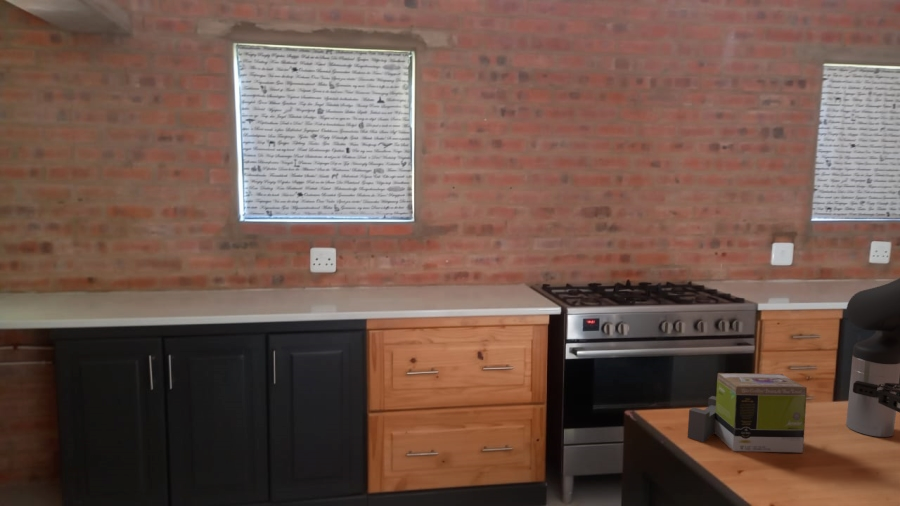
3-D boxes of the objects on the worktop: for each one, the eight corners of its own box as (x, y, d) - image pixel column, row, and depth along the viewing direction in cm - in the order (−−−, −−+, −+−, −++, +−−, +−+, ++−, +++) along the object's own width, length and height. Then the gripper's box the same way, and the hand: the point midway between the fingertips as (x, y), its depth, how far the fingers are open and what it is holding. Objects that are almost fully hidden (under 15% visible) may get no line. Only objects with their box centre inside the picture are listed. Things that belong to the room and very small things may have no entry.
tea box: (778, 435, 135) (783, 372, 134) (803, 454, 125) (809, 387, 124) (712, 433, 135) (717, 370, 134) (732, 452, 125) (737, 385, 124)
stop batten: (710, 421, 142) (712, 395, 142) (726, 425, 140) (727, 399, 139) (687, 437, 133) (689, 409, 132) (703, 442, 130) (705, 414, 130)
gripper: (975, 382, 108) (862, 360, 120) (970, 402, 99) (848, 375, 111) (970, 421, 109) (858, 395, 121) (964, 444, 100) (844, 413, 112)
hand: (854, 386), depth 116 cm, fingers closed
